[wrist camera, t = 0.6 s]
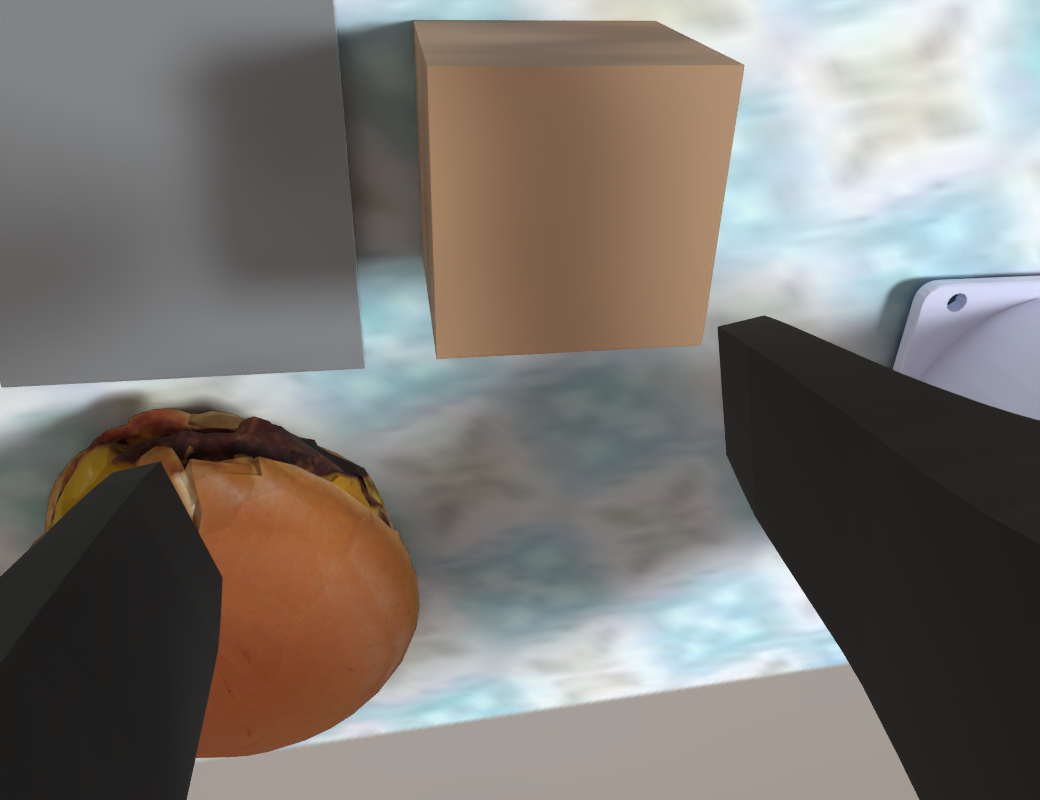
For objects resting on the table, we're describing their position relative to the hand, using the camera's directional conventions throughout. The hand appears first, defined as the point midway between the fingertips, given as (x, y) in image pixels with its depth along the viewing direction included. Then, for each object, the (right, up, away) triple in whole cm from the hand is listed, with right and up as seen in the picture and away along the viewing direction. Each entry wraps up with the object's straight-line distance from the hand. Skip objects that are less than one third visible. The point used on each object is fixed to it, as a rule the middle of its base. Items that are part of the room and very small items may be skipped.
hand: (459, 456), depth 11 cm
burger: (-7, -3, +12) cm, 14 cm away
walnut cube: (+1, +6, +8) cm, 10 cm away
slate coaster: (-7, +5, +7) cm, 11 cm away
